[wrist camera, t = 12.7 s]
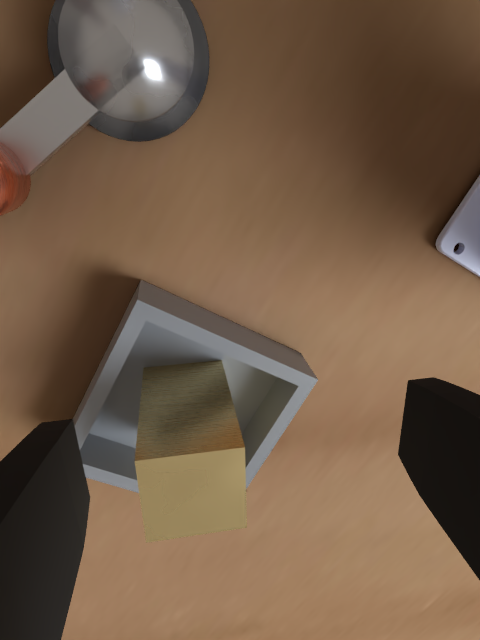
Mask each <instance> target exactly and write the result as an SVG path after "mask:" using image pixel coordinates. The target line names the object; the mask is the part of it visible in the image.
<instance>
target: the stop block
mask: <svg viewBox="0 0 480 640" xmlns="http://www.w3.org/2000/svg"><path fill="white" fill-rule="evenodd" d="M135 468H136V475H137V482H138V489H139V496H140V503H141V510H142V517H143V524H144V531H145V538H146V543H148V542H154V541H161V540H168V539H174V538H181V537H187V536H194V535H201V534H207V533H214V532H221V531H227V530H234V529H240V528H247V517H246V468H245V445H244V441H243V438H242V434H241V430H240V426H239V423H238V419H237V415H236V411H235V408H234V404H233V400H232V397H231V393H230V389H229V385H228V382H227V378H226V374H225V370H224V367H223V363H222V360H218V361H207V362H196V363H186V364H175V365H165V366H154V367H144V368H143V378H142V389H141V399H140V409H139V420H138V430H137V441H136V451H135Z"/></svg>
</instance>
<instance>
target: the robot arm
mask: <svg viewBox="0 0 480 640" xmlns="http://www.w3.org/2000/svg"><path fill="white" fill-rule="evenodd" d="M457 243H459V248H458V250H457V251H456V252H454V247H455V245H456V244H457ZM436 248H437V250H438V251H439V252H441V253H442V254H444V255H445V256H447V257H449V258H450V259H452V260H453V261H455V262H456V263H458V264H460V265H461V266H463V267H464V268H466V269H468V270H469V271H471V272H472V273H474V274H476V275H477V276H479V277H480V175H479V177H478V178H477V180H476V181H475V183H474V184H473V186H472V187H471V189H470V190H469V192H468V193H467V195H466V196H465V197H464V199H463V200H462V202H461V203H460V205H459V206H458V208H457V209H456V211H455V212H454V214H453V215H452V217H451V218H450V220H449V221H448V223H447V224H446V226H445V227H444V229H443V230H442V231H441V233H440V234H439V236H438V238H437V240H436ZM398 455H399V457H400V459H401V461H402V463H403V465H404V467H405V469H406V471H407V473H408V475H409V477H410V479H411V481H412V482H413V484H414V486H415V488H416V490H417V491H418V493H419V495H420V496H421V498H422V499H423V501H424V502H425V504H426V505H427V507H428V508H429V510H430V511H431V512H432V514H433V515H434V517H435V518H436V520H437V521H438V522H439V524H440V525H441V527H442V528H443V530H444V531H445V532H446V534H447V535H448V537H449V538H450V539H451V541H452V542H453V544H454V545H455V546H456V548H457V549H458V551H459V552H460V553H461V555H462V556H463V558H464V559H465V560H466V562H467V563H468V565H469V566H470V567H471V569H472V570H473V571H474V573H475V574H476V576H477V577H478V578H479V580H480V395H478V394H476V393H473V392H471V391H469V390H466V389H464V388H461V387H459V386H456V385H454V384H451V383H449V382H446V381H443V380H440V379H437V378H434V377H433V378H424V379H415V380H408V384H407V392H406V399H405V407H404V414H403V421H402V429H401V436H400V444H399V451H398ZM89 502H90V495H89V490H88V486H87V481H86V476H85V472H84V467H83V463H82V458H81V454H80V449H79V444H78V440H77V435H76V431H75V426H74V422H73V419H69V420H61V421H52V422H43V423H41V424H39V425H38V426H37V427H36V428H35V429H34V430H33V431H32V432H30V433H29V434H28V435H27V436H26V437H25V438H24V439H23V440H22V441H21V442H20V443H19V444H18V445H17V446H16V447H15V448H14V449H13V450H12V451H11V452H10V453H9V454H8V455H7V456H6V457H5V458H3V459H2V460H1V461H0V640H61V637H62V633H63V629H64V625H65V621H66V617H67V613H68V609H69V606H70V602H71V598H72V594H73V590H74V586H75V581H76V577H77V573H78V569H79V565H80V561H81V557H82V553H83V548H84V542H85V535H86V528H87V519H88V511H89Z"/></svg>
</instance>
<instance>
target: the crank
mask: <svg viewBox="0 0 480 640" xmlns="http://www.w3.org/2000/svg"><path fill="white" fill-rule="evenodd" d="M58 42H59V50H60V55H61V58H62V62H63V65H64V67H65V69H64V70H63V71H62V72H61V73H60V74H59V75H58V76H57V77H56V78H55V79H53V80H52V81H51V82H50V83H49V84H48V85H47V86H46V87H45V88H44V89H43V90H42V91H40V92H39V93H38V94H37V95H36V96H35V97H34V98H33V99H32V100H31V101H30V102H29V103H28V104H26V105H25V106H24V107H23V108H22V109H21V110H20V111H19V112H18V113H17V114H16V115H15V116H13V117H12V118H11V119H10V120H9V121H8V122H7V123H6V124H5V125H4V126H3V127H2V128H0V216H1V215H4V214H6V213H8V212H11V211H13V210H15V209H17V208H18V207H19V206H21V205H22V204H23V203H24V201H25V200H26V198H27V196H28V194H29V191H30V186H31V179H30V176H31V175H32V174H33V173H34V172H35V171H36V170H37V169H39V168H40V167H41V166H42V165H43V164H44V163H45V162H46V161H47V160H49V159H50V158H51V157H52V156H53V155H54V154H55V153H56V152H58V151H59V150H60V149H61V148H62V147H63V146H64V145H65V144H66V143H68V142H69V141H70V140H71V139H72V138H73V137H74V136H75V135H76V134H78V133H79V132H80V131H81V130H82V129H83V128H84V127H85V126H86V125H88V124H89V123H90V122H91V121H92V120H93V119H94V118H95V117H96V116H98V115H99V114H100V113H101V112H103V113H105V114H107V115H109V116H111V117H113V118H116V119H119V120H122V121H127V122H146V121H150V120H154V119H156V118H159V117H161V116H162V115H164V114H166V113H167V112H168V111H170V110H171V109H172V108H173V107H174V106H175V105H176V104H177V103H178V102H179V100H180V99H181V98H182V96H183V94H184V92H185V90H186V88H187V85H188V83H189V80H190V77H191V74H192V70H193V63H194V44H193V37H192V32H191V28H190V25H189V22H188V20H187V17H186V15H185V13H184V11H183V9H182V7H181V6H180V4H179V2H178V1H177V0H65V3H64V5H63V7H62V11H61V14H60V19H59V25H58Z"/></svg>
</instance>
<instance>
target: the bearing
mask: <svg viewBox="0 0 480 640" xmlns="http://www.w3.org/2000/svg"><path fill="white" fill-rule="evenodd" d="M177 1H178V2H179V4H180V6H181V7H182V9H183V11H184V13H185V15H186V17H187V20H188V22H189V25H190V28H191V32H192V37H193V44H194V63H193V70H192V74H191V77H190V80H189V83H188V85H187V88H186V90H185V92H184V94H183V96H182V98H181V99H180V100H179V102H178V103H177V104H176V105H175V106H174V107H173V108H172V109H171V110H170V111H168V112H167V113H166V114H164V115H162V116H161V117H159V118H156V119H154V120H150V121H146V122H127V121H122V120H119V119H116V118H113V117H111V116H109V115H107V114H105V113H103V112H101V113H100V114H99V115H98V116H96V117H95V118H94V119H93V120H92V121H91V122H90V123H89V124H90V125H91V126H93V127H94V128H96V129H97V130H99V131H101V132H103V133H105V134H107V135H109V136H112V137H115V138H118V139H122V140H127V141H138V142H141V141H151V140H155V139H159V138H162V137H164V136H167V135H169V134H170V133H172V132H174V131H176V130H177V129H178V128H179V127H181V126H182V125H183V124H184V123H185V122H186V121H187V120H188V119H189V118H190V117H191V115H192V114H193V113H194V111H195V110H196V108H197V107H198V105H199V103H200V101H201V99H202V96H203V94H204V91H205V88H206V84H207V80H208V73H209V48H208V42H207V37H206V33H205V30H204V27H203V24H202V21H201V19H200V17H199V15H198V12H197V10H196V9H195V7H194V5H193V4H192V2H191V0H177ZM64 3H65V0H56V1H55V3H54V5H53V8H52V11H51V15H50V18H49V25H48V37H47V44H48V54H49V59H50V64H51V68H52V71H53V74H54V77H55V78H56V77H57V76H58V75H59V74H60V73H61V72H62V71H63V70H64V69H65V67H64V65H63V62H62V58H61V55H60V50H59V42H58V25H59V19H60V14H61V11H62V7H63V5H64Z"/></svg>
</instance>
